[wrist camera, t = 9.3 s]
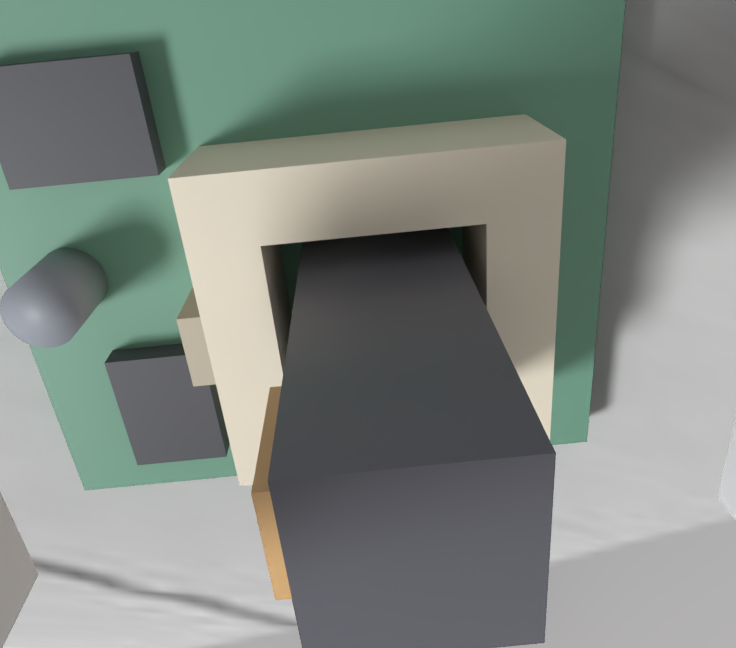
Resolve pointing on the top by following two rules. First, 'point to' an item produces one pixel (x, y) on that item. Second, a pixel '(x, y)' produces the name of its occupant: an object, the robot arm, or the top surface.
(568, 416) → the board
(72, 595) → the top surface
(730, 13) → the top surface
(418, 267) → the plug
